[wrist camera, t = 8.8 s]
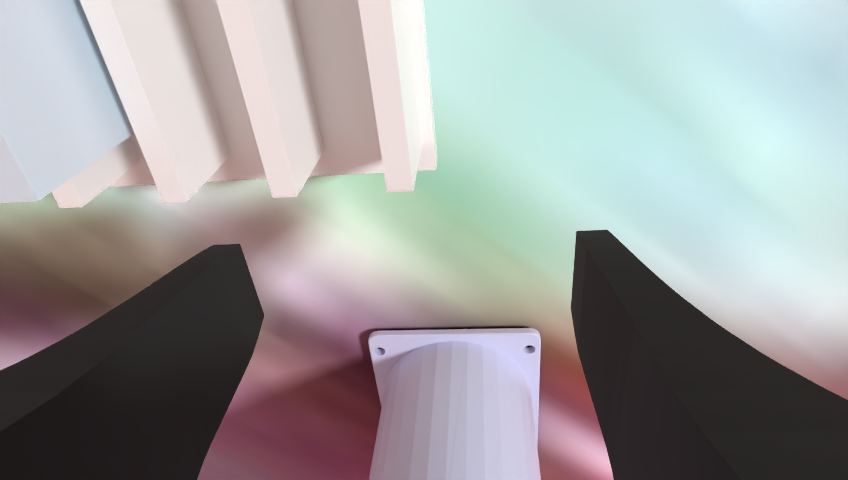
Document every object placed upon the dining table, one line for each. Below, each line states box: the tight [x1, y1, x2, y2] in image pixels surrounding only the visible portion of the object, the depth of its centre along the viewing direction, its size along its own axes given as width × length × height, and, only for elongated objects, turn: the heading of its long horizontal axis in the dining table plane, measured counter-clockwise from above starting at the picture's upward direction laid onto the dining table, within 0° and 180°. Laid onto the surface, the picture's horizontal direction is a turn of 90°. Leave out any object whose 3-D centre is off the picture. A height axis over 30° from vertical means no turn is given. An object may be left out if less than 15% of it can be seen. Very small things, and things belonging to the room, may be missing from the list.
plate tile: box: [0, 0, 134, 203], centre depth 14 cm, size 7×2×7 cm, turn 5°
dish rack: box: [52, 0, 438, 208], centre depth 16 cm, size 13×16×4 cm
